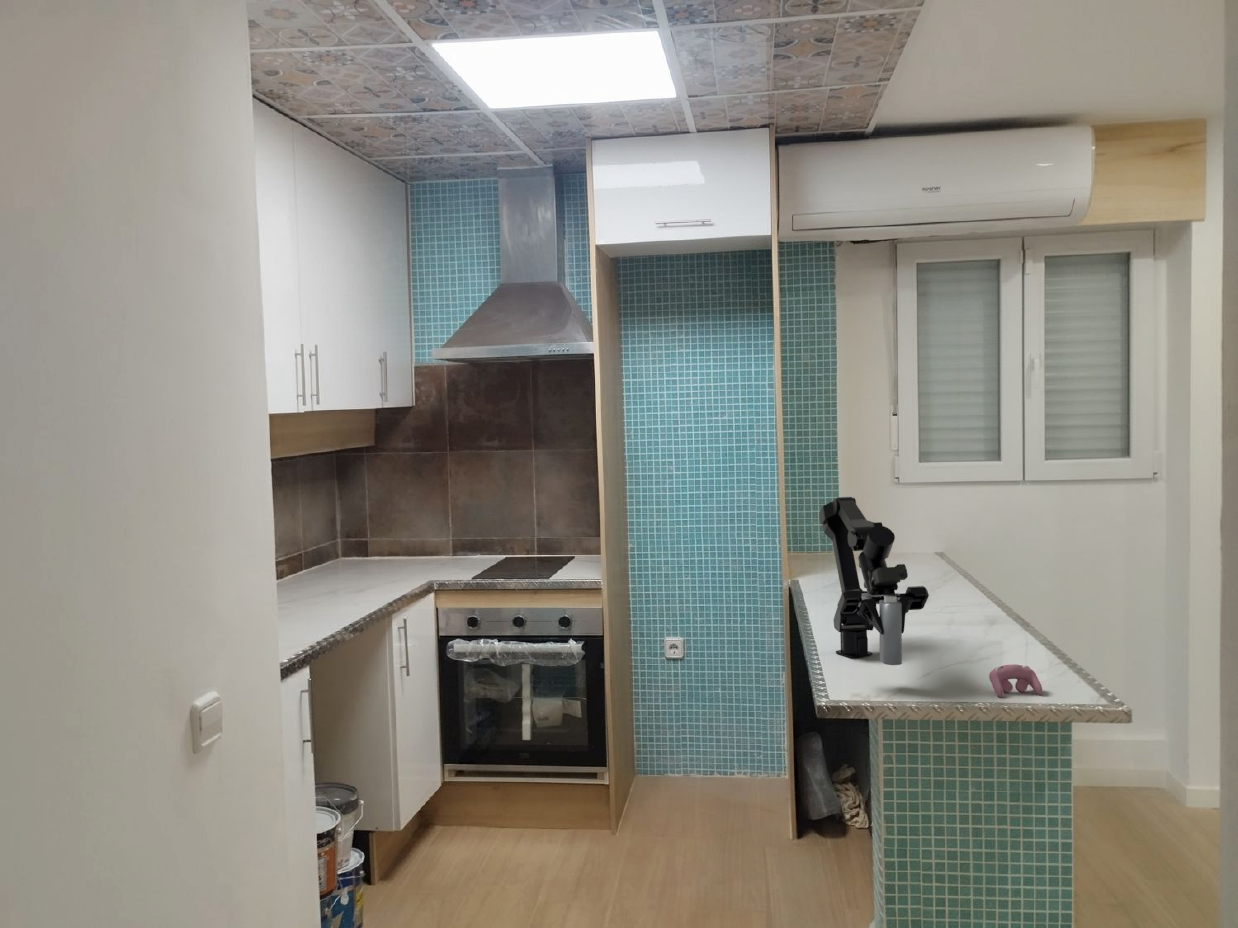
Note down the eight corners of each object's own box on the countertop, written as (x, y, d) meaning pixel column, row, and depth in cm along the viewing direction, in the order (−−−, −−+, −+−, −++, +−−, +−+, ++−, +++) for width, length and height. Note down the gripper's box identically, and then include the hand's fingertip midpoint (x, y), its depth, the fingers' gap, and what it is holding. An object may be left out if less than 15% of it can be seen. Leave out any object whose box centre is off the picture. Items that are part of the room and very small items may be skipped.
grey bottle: (877, 657, 221) (877, 594, 220) (895, 657, 222) (895, 593, 221) (885, 665, 215) (885, 599, 214) (904, 664, 216) (904, 599, 215)
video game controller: (1036, 698, 213) (1029, 664, 216) (1045, 694, 209) (1038, 660, 212) (990, 700, 213) (984, 667, 216) (998, 696, 209) (992, 663, 211)
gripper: (841, 553, 220) (857, 614, 210) (925, 549, 221) (945, 610, 211) (832, 582, 229) (847, 642, 218) (913, 578, 230) (931, 638, 220)
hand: (892, 632), depth 217 cm, fingers closed on grey bottle, 4 cm apart
